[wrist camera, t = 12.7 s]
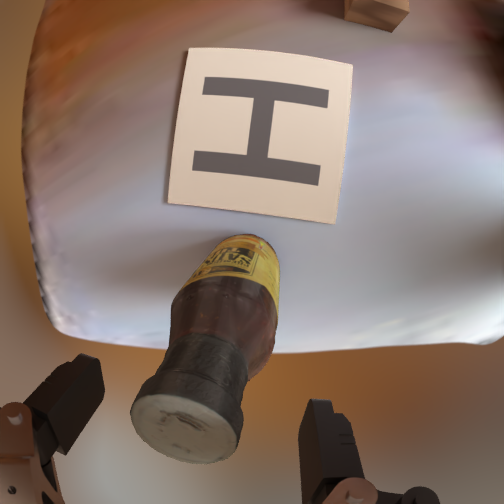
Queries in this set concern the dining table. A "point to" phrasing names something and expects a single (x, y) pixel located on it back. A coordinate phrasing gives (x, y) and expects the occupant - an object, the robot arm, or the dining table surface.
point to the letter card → (261, 133)
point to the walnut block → (376, 12)
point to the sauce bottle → (212, 353)
